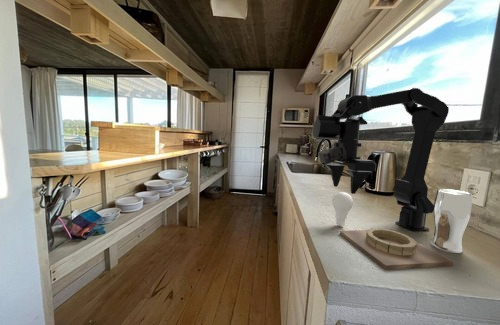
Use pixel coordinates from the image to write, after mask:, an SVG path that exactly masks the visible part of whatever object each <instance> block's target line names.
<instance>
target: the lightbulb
mask: <svg viewBox="0 0 500 325" xmlns="http://www.w3.org/2000/svg"><path fill="white" fill-rule="evenodd" d="M331 204H332V207H333V209H334V211H335V219H336V220H335V221H336V222H335V223H336V225H338V226H339V227H343V226H345V224H346V220H347V216H348V214H349V212H350V211H351V210H352V208H353V206H354V200H353V197H352V196H351V195H350V194H349V193H347V192H344V191H339V192H337V193H335V194H334V195H333V196H332V198H331Z"/></svg>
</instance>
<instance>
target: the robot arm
mask: <svg viewBox="0 0 500 325" xmlns="http://www.w3.org/2000/svg"><path fill="white" fill-rule="evenodd" d="M400 104H401V105H403V108H404V109H405V111H406V112H407V113H408V114H409V115H410V116H411V125H412V128H413V129H414V134H413V138H412V142H411V148H410V151H409V155H408V160H407V163H406V168H405V173H404V174H403V176H402V177H401V178H400V179H398V178H396V179H395V180H394V186H393V188H392V191H393V197H394V198H395V199H396V203H397V205H398V206H399V205H400V206H401V208H400V211H399V219H398V221H397V220H396V221H395V224H397V225H399V226H400V227H403V228H404V229H407V230H409V231H411V232H417V231H418V232H422V231H423V232H424V231H430V228H428V227H426V226H425V225H426V219H427V215H429V214H432V213H434V203H433V202H432V201H431V200H430V198H429V197H428V195H429V194H428V193H429V192H428V190H429V188H428V185H427V182H426V181H425V176H426V171H427V169H428V168H427V167H428V164H429V160H430V156H431V151H432V147H433V143H434V139H435V135H436V133H437V132H438V131H439V129H440V128H441V127H442V126H443V125H444V124H445V121H446V119H447V118H448V115H449V110H450V108H449V106H448V105H447V104H446V102H444V101H442V100H441V99H439V98H438V97H436V96H433V95H431V94H428V93H426V92H424V91H423V90H422V89H421V88H418V87H412V88H408V89H404V90H399V91H394V92H388V93H384V94H379V95H368V94H367V95H366V94H362V95H361V94H360V95H359V94H357V95H352V96H350V97H347V98H343V99H341V100H340V101H339V103H338V104H337V109H336V110H335V111H334V112H333V113H332V115H322V114H319V115H316V119H315V121H314V124H313V127H312V136H313V138H314V139H324V140H325V139H329V140H330V139H331V140H333V139H334V140H335V139H336V138H337V142H334V143H333V147H330V148H327V149H324V150H321V151H319V152H318V153H317V154H318V157H319V158H318V159H319V161H320V163H322V164H324V166H325V167H326V168H327V169H328V170H329V172H330V173H329V174H330V175H331V179H332V180H331V181H332V184H333V187H335V188H336V187H338V186H339V184H340V181H341V178H342V176H343V172H344V170H345V166H346V167H347V168H348V169H346V172H347V173H348V175H349V176H350V194H352V195H354V194H356V193H357V192H358V190H359V189H360V187H361V186H362V184H363V183H364V182H365V181H366V179H367V177H369V175H371V174H372V173H373V172H376V170H377V169H376V168H377V163H376V162H375V161H374V160H373V159H372V160H370V159H361V156H358V149H359V148H360V147H361V148H362V142H361V143H360V142H359V139H360V138H359V137H360V128H361V126H362V125H363V126H364V125H368V121H367V120H365V119H364V117H363V116H360V115H363V114H366V113H368V112H370V111H372V110H374V109H379V108H385V107H390V106H395V105H400ZM357 116H358V117H357ZM352 117H356V118H352ZM341 120H344V121H341Z"/></svg>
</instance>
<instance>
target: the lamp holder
mask: <svg viewBox="0 0 500 325" xmlns="http://www.w3.org/2000/svg"><path fill="white" fill-rule="evenodd" d="M339 235H340V236H342V237H343V238H344V239H345V240H347V241H348V242H349V243H350V244H352V245H353V246H354V247H355V248H356V249H358V250H359V251H361V252H362V253H363V254H364V255H366V256H367V257H368V258H369V259H371V260H372V261H373V262H374V263H376V264H377V265H379V267H381V268H382V269H384V270H385V271H389V270H391V271H393V270H405V269H406V270H407V269H421V268H422V269H423V268H437V267H438V268H440V267H452V266H454V261H453V260H451V259H450V258H448V257H445V256H443V255H442V254H440V253H438V252H436V251H434V250H433V249H430V248H428V247H427V246H425V245H423V244H420V243H419V242H417V241H416V240H415V239H414V238H412V237H411V236H409V235H407V234H405V233H403V232H399V231H396V230H394V229H392V228H391V229H388V228H382V227H380V228H379V227H373V228H372V227H371V228H369V229H363V230H362V229H357V230H339Z"/></svg>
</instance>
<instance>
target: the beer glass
mask: <svg viewBox="0 0 500 325" xmlns="http://www.w3.org/2000/svg"><path fill="white" fill-rule="evenodd" d="M433 205H434V210H433V221H434V222H433V223H434V233H433V236H432V239H431V241H430V245H431V246H432V247H434V248H436V249H438V250H441V251H443V252H447V253H451V254H462V253H463V244H462V243H463V242H462V241H463V240H462V239H463V236H464V233H465V230H466V228H467V225H468V223H469V221H470V218H471V214H472V206H473V194H472V193H470V192H466V191H462V190H461V191H460V190H455V189H449V188H447V189H445V188H438V189H436V194H435V198H434V202H433Z"/></svg>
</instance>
